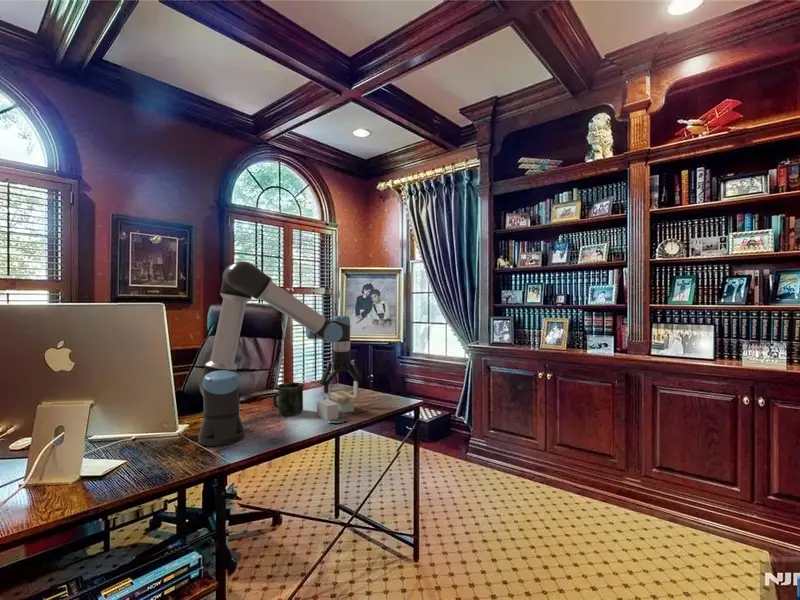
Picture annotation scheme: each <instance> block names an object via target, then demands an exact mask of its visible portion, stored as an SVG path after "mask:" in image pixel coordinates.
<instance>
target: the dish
mask: <svg viewBox="0 0 800 600" xmlns="http://www.w3.org/2000/svg"><path fill="white" fill-rule="evenodd" d="M330 400H331V401H333V402H335V403H337V404H338V412H339V413H341V412H342V414H347V413H348V412H349V413H354V410H355V407H354V403H355V402H351V403H345V404H341V403H339V402H337V401H335V400H333V399H331V398H330Z"/></svg>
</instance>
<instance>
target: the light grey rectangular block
mask: <svg viewBox="0 0 800 600" xmlns="http://www.w3.org/2000/svg"><path fill="white" fill-rule="evenodd" d="M316 402H317V404H316V409H317V410H316V411H317V412H316V413H317V414H316V415H317V416H318V417H320V418H322V419H323V420H325V421H327V422H329V421H333V419H334V420H337V419H339V411H338V404H337V403H335V402H333V401H331V399H330V400H329V399H326V398H325V399H321V400H317V401H316ZM328 420H329V421H328Z"/></svg>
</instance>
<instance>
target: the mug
mask: <svg viewBox="0 0 800 600" xmlns="http://www.w3.org/2000/svg"><path fill="white" fill-rule="evenodd" d="M277 388H278V389H277V390H278V391H277V392H276V393H274V394H273V396H272V404H273V406H274V407H275V408H276V409H278V414H279V415H281V416H296V415H300V414H302V413H303V410H304V383H303V382H285V383H281V384H278V385H277ZM277 397H278V402H277Z"/></svg>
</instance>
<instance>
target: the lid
mask: <svg viewBox="0 0 800 600" xmlns="http://www.w3.org/2000/svg"><path fill="white" fill-rule="evenodd" d="M357 398H358V396H357V397H356V396H354V394H351V393H349V392H346V391H344V390H340V391H339V390H338V391H337V390H336V391H333V392H331V391H330V400H331V399H333V400H335V401H337V402H339V403H341V404H345V403H351V402H354V403H356V402H357V400H358V399H357Z"/></svg>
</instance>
